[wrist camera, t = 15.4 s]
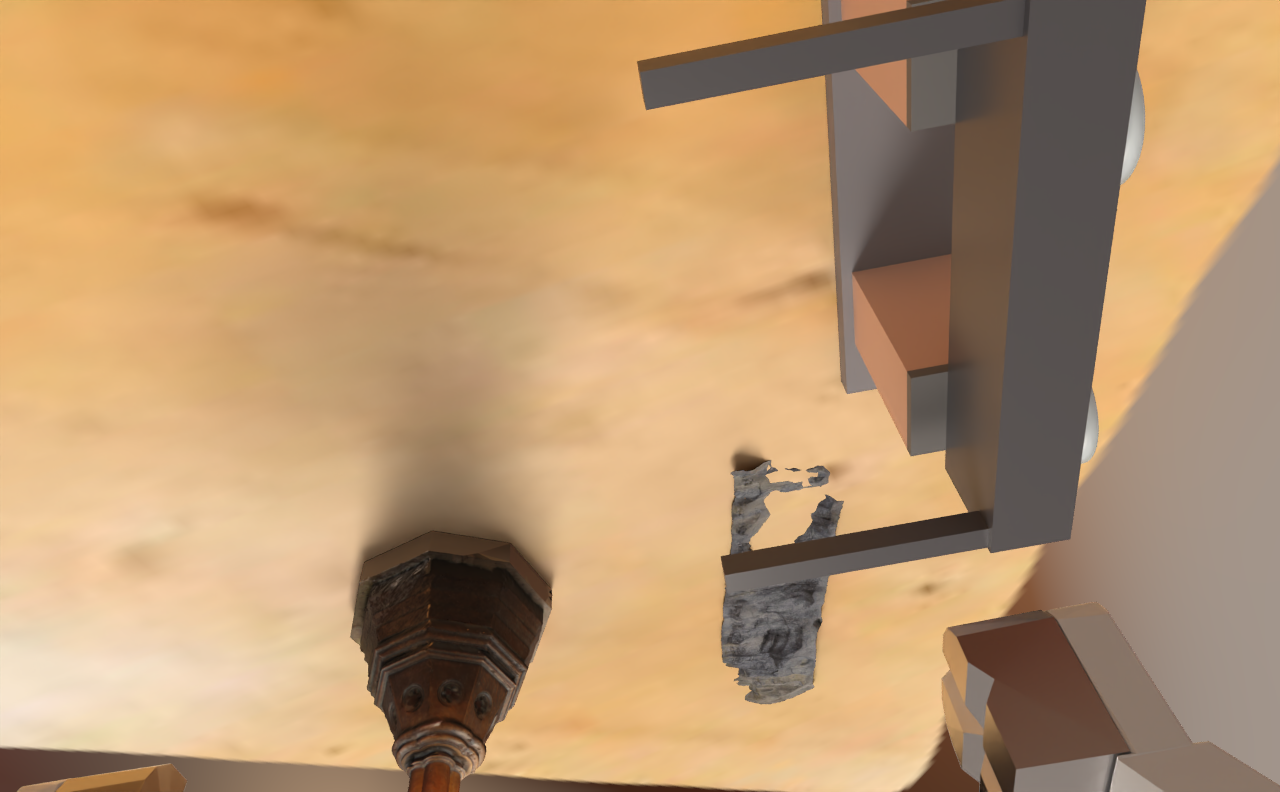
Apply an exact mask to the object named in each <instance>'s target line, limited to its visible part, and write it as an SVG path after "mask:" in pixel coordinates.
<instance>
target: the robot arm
mask: <svg viewBox="0 0 1280 792" xmlns="http://www.w3.org/2000/svg"><path fill="white" fill-rule="evenodd" d="M943 653H944V656H945V658H946V660H947V663H948V665H949V668H950V670H949V671H948V672H947V673H946V675H945V676H944V677H943V678H942V702H943V708H944V713H945V719H946V725H947V728H948V731H949V735H950V738H951V741H952V744H953V747H954V750H955V752H956V755H957V758H958V760H959V763H960V766H961V768H962V770H964V771H965V772H966V773H968V774H969V775H970V776H972V777H973V778H974V779H976V780H977V781H978V782H980V789H979V792H1280V785H1278V784H1277V783H1275V782H1273V781H1272V780H1270V779H1268V778H1267V777H1265V776H1263V775H1262V774H1260V773H1259V772H1257V771H1256V770H1254V769H1252V768H1251V767H1249V766H1248V765H1246V764H1244V763H1243V762H1241V761H1240V760H1238V759H1237V758H1235V757H1233V756H1232V755H1230V754H1229V753H1227V752H1225V751H1224V750H1222V749H1220V748H1219V747H1217V746H1216V745H1214V744H1213V743H1211V742H1209V741H1207V742H1199V743H1192V741H1191V740H1190V738H1189V736H1188V735H1187V733H1186V732H1185V730H1184V729H1183V727H1182V726H1181V724H1180V722H1179V721H1178V719H1177V718H1176V716H1175V715H1174V713H1173V712H1172V710H1171V709H1170V707H1169V705H1168V704H1167V702H1166V701H1165V699H1164V698H1163V696H1162V694H1161V693H1160V691H1159V690H1158V688H1157V687H1156V685H1155V684H1154V682H1153V681H1152V679H1151V677H1150V676H1149V674H1148V673H1147V671H1146V670H1145V668H1144V667H1143V665H1142V663H1141V662H1140V660H1139V659H1138V657H1137V656H1136V654H1135V653H1134V651H1133V649H1132V648H1131V646H1130V645H1129V643H1128V642H1127V640H1126V638H1125V637H1124V636H1123V634H1122V632H1121V631H1120V629H1119V628H1118V626H1117V625H1116V623H1115V621H1114V620H1113V618H1112V617H1111V615H1110V614H1109V612H1108V611H1107V609H1105V608H1104V607H1103V606H1101V605H1100V604H1099V603H1097V602H1089V603H1084V604H1079V605H1073V606H1068V607H1063V608H1057V609H1052V610H1047V611H1042V610H1038V611H1033V612H1027V613H1022V614H1017V615H1011V616H1006V617H1001V618H995V619H990V620H985V621H979V622H974V623H969V624H963V625H958V626H953V627H948V628H947V629H946V631H945V633H944V634H943ZM186 783H187V780H186V779H185V778H184V777H183V776H182V774H181V773H180V772H179V771H178V770H177V769H176V768H175V767H174V766H173V765H172V764H165V765H158V766H152V767H145V768H139V769H132V770H126V771H119V772H112V773H106V774H99V775H93V776H86V777H80V778H71V779H65V780H59V781H53V782H48V783H41V784H35V785H30V786H23V787H21V788H20V789H19V790H18V791H17V792H184V789H185V786H186Z"/></svg>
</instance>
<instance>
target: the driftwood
mask: <svg viewBox="0 0 1280 792" xmlns="http://www.w3.org/2000/svg"><path fill="white" fill-rule="evenodd" d="M768 465H770V467H771V460H770V461H767V462H764V463H763V464H761V465H760V466H759V467H757V468H756V469H754V470H752V471H744V470H742V471H733V472H731V474H732V475H733V476H734V477H733V478H734V491H735V492H734V495H735V496H736V498H735V502H733V507H732V520H733V521H732V522H733V525H732V530H731V532H732V543H731V544H732V548H731V554H737V553H743V552H748V551H751V549H750V550H749V548H750V547H751V546H750V544H749V543H748V542H749V541H750V538H751V537H752V536H754V535H755V534H756V533H757V532H758V530H759V529H760V528H761V526H762V525H763V523H764V522H766V520H767V519H768V517H769V516H770V513H769V511H768V509H767V508H766V506H765V503H764V499H765V498H766V497H767V496H768V495H769V494H770V492H772V491H774V490H779V491H780V492H789V491H793V490H800V489H802V488H809V487H816V486H820V487H821V486H822V485H824V484H827V483H828V477H829V475H830V472H829V471H828V470H827V469H825V467H824V466H816V467H814V468H810V469H807V472H815V473H817V472H818V477H810V478H809V479H808V481H809V483H810V484H811V485H812V486H808V487H803V486H802V482H799V483H793V482H789V481H785V482H777V483H770V482H769V479H768V478H767V477H766V476H765V475H766V474H769V473H772V472H775V471H778V470H777V469H776V468H773V467H771V468H770V469H769V470H768V471H767V467H768ZM785 469H787V468H785ZM787 470H792V471H793V472H794V471H800V470H799V469H797V468H792V469H787ZM825 496H826V499H824V500H823V501H821V502H820V503H819V504H818V506H817V509H816V511H815V512H814V513H812V514H811V517H812V519H813V521H812V523H811V525H810V526H809V527H808V529H807V531H806V532H805V534H803V535H801V536H799V537H798V538H797V539H796V540H795V541H794V542H795V543H799V542H805V541H810V540H816V539H821V538H827V537H833V536H836V535H835V531H836V527H837V523H838V520H839V518H840V517H839V515H840V511H841V509H842V507H843V506H842V504H843V502H844V501H836V500H835V499H833V498H832V497H830V496H828V495H825ZM829 576H830V575H829ZM829 576H823V577H817V578H811V579H806V580H800V581H794V582H789V583H783V584H777V585H772V586H766V587H760V588H755V589H749V590H743V591H738V592H732V593H727V588H725V589H726V595H725V602H724V605H723V617H724V619H725V620H724V622H723V625H722V633H721V634H722V638H721V641H722V651H723V654H722V658H723V663H726V666H728V667H735V668H739V673H738V675H739V677H738V678H737V679H734V681H737V680H738V681H739V682H738V683H737V684H738V685H742V686H746V685H750V686H749V689H750V690H752V691H751V692H749V693H748V694H747V695H746V696H745V700H747V701H749V702H754V703H759V704H772V703H777V702H781V701H785V700H787V699H790V698H793V697H795V696H797V695H800V694H802V693H804V692H806V691H807V690H810V689H813V688H814V686H813V683H812V682H813V671H814V668H815V662H816V660H815V659H816V638H817V636H816V635H817V632H818V629H819V628H820V626H821V623H822V617H821V606H822V605H823V604H824V597H825V593H826V587H827V582H828V577H829Z"/></svg>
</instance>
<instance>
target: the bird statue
mask: <svg viewBox="0 0 1280 792" xmlns="http://www.w3.org/2000/svg"><path fill="white" fill-rule="evenodd" d="M551 610H552V590H551V588H550V587H549V586H548V585H547V584H546V583H545V582H544V581H543V579H542V578H541V577H540V576H539V575H538V574H537V573H536V571H535V570H534V569H533V568H532V567H531V566H530V565H529V564H528V562H527V561H526V560H525V559H524V558H523V557H522V556H521V554H520V553H519V552H518V551H517V550H516V549H515V548H514V547H513V545H512V544H511V543H506V542H500V541H493V540H487V539H481V538H474V537H468V536H461V535H455V534H449V533H442V532H436V531H431V532H429V533H427V534H424V535H422V536H420V537H418V538H416V539H414V540H411V541H409V542H407V543H405V544H403V545H401V546H398V547H396V548H394V549H392V550H390V551H388V552H385V553H383V554H381V555H379V556H377V557H375V558H372V559H370V560H368V561H366V562H364V566H363V570H362V575H361V579H360V583H359V589H358V595H357V601H356V607H355V613H354V618H353V624H352V630H351V636H350V637H351V638H352V639H353V640H354V641H355V642H356V643H358V644H359V645H360V649H361V651H362V652H364V654H365V658H364V660H365V661H366V662H367V663H368V673H369V674H368V677H369V680H368V685H367V690H368V691H370V692H371V695H372V696H373V697H374V699H375V701H374V705H376V706H377V707H378V708H380V709H381V710H382V712H384V714H385V717H386V719H387V721H388V723H389V727H390V730H391V732H392V734H393V735H394V736H393V737H394V739H395V741H394V744H393V747H392V752H393V755H394V757H395V759H396V762H397V764H398V766H399V767H400V768H401V769H402V770H404V771H405V772H407V775H408V776H409V778H410V781H409V789H408V792H459V788H460V781H461V780H462V779H464V778H465V777H466V776H468V775H469V774H470V773H474V772H475V770H476V769H477V768H478V767H479V766H480V765H481V764H482V762H483V761H484V758H485V755H486V752H487V751H486V746H485V743H486V741H487V739H488V737H489V735H490V733H491V732H492V731H493V728H494V726H495V724H496V723H498V722H501V721H503V720H504V719H505V717H506V715H507V712H508V710H510V709H512V707H514V705H515V702H516V700H517V697H518V694H519V691H520V689H521V686H522V684H523V680H524V678H525V675H526V672H527V670H528V666H529V663H531V662H533V659H534V656H535V653H536V651H537V648H538V645H539V642H540V640H541V637H542V634H543V631H544V629H545V626H546V623H547V621H548V618H549V615H550V612H551Z"/></svg>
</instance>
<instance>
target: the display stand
mask: <svg viewBox="0 0 1280 792" xmlns="http://www.w3.org/2000/svg"><path fill="white" fill-rule="evenodd" d="M940 1H945V0H821V5H822V24H823V25H824V24H829V23H834V22H839V21H844V20H849V19H854V18H859V17H864V16H869V15H874V14H879V13H884V12H890V11H895V10H900V9H905V8H910V7H915V6H920V5H925V4H930V3H935V2H940ZM956 79H957V49H956V50H951V51H946V52H941V53H936V54H930V55H925V56H920V57H915V58H910V59H905V60H900V61H895V62H889V63H884V64H879V65H874V66H869V67H864V68H859V69H854V70H849V71H843V72H838V73H833V74H828V75H825V81H826V100H827V119H828V138H829V158H830V177H831V196H832V215H833V234H834V253H835V272H836V291H837V310H838V330H839V349H840V368H841V382H842V384H843V386H844V388H845V391H846V393H847V394H850V393H856V392H861V391H867V390H872V389H878V391H879V393H880V395H881V397H882V399H883V401H884V403H885V405H886V407H887V409H888V411H889V413H890V415H891V417H892V419H893V421H894V423H895V425H896V427H897V429H898V431H899V434H900V436H901V438H902V440H903V442H904V444H905V446H906V448H907V450H908V452H909V454H910V456H915V455H921V454H926V453H932V452H937V451H943V450H946V422H947V388H948V354H949V319H950V285H951V251H952V216H953V182H954V148H955V113H956Z"/></svg>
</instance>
